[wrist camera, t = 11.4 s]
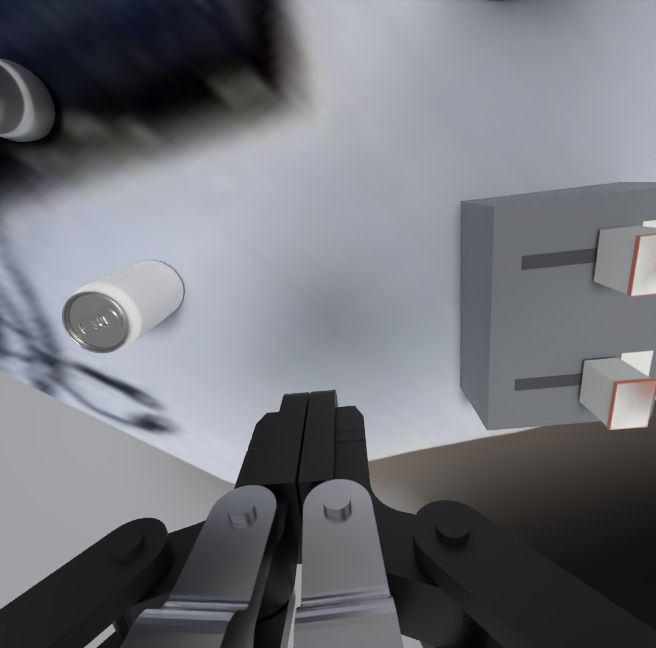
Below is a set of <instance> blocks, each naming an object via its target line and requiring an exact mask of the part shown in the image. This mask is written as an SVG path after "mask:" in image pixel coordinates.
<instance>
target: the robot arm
mask: <svg viewBox="0 0 656 648" xmlns="http://www.w3.org/2000/svg"><path fill="white" fill-rule="evenodd" d="M297 564H302V587H301V606H300V607H297V609H296V613H295V623H294V647H293V648H404V647H403V642H402V637H401V634H402V635H405V636H408V637H411V638H414V639H416V640H419V641H420V642H421V644H422V646H423V648H656V632H655V631H654V630H652V629H651V628H649V627H648V626H647V625H645V624H644V623H642V622H641V621H639V620H638V619H636V618H634V617H633V616H632V615H630V614H629V613H627V612H626V611H624V610H623V609H621V608H620V607H618V606H617V605H615V604H614V603H613V602H611V601H610V600H608V599H607V598H605V597H603V596H602V595H601V594H599V593H598V592H596V591H595V590H593V589H592V588H590V587H588V586H587V585H586V584H584V583H583V582H581V581H580V580H578V579H577V578H576V577H574V576H573V575H571V574H570V573H568V572H566V571H565V570H564V569H562V568H561V567H559V566H558V565H556V564H555V563H553V562H552V561H550V560H549V559H547V558H546V557H544V556H543V555H541V554H540V553H538V552H537V551H536V550H534V549H533V548H531V547H530V546H528V545H526V544H525V543H524V542H522V541H521V540H519V539H518V538H516V537H515V536H513V535H512V534H510V533H509V532H507V531H506V530H504V529H503V528H501V527H500V526H499V525H497V524H496V523H494V522H493V521H491V520H489V519H488V518H487V517H485V516H483V515H482V514H481V513H479V512H478V511H476V510H475V509H473V508H471V507H470V506H468V505H465V504H463V503H460V502H455V501H448V500H442V501H435V502H432V503H429V504H427V505H425V506H424V507H422V508H421V509H420V510H419V511H418V512H417V514H416V515H414V514H410V513H405V512H401V511H397V510H395V509H392V508H390V507H388V506H386V505H385V504H383V503H382V502H381V501H379V500H378V498H377V497H376V496H375V495H374V493H373V492H372V489H371V486H370V479H369V469H368V459H367V448H366V438H365V428H364V418H363V415H362V414H361V413H360V411H359V410H358V409H357V408H356V407H355V406H346V407H338V402H337V394H336V390H329V391H317V392H311V393H309V392H306V393H294V394H284V396H283V399H282V403H281V407H280V411H279V412H273V413H266V414H265V416H264V417H263V418H262V419H261V420H260V421H259V422H258V423H257V424H256V426H255V429H254V432H253V435H252V440H251V441H250V444H249V447H248V451H247V453H246V455H245V458H244V461H243V464H242V467H241V470H240V473H239V476H238V479H237V482H236V485H235V488H234V490H231V491H230V492H228V493H226V494H225V495H224V496H222V497H221V498H220V499H219V500H218V501H217V502H216V503H215V504H214V506H213V508H212V509H211V511H210V513H209V515H208V517H207V519H206V520H205V521H203V522H200V523H198V524H195V525H192V526H189V527H186V528H183V529H180V530H178V531H174V532H172V533H168V532H167V530H166V527H165V525H164V524H163V523H162V522H161V521H160V520H158V519H155V518H141V519H137V520H133V521H130V522H128V523H126V524H124V525H122V526H120V527H118V528H117V529H115V530H114V531H112V532H111V533H109V534H108V535H106V536H105V537H103V538H102V539H101V540H99V541H98V542H96V543H95V544H93V545H92V546H91V547H89V548H88V549H86V550H85V551H83V552H82V553H81V554H79V555H78V556H76V557H75V558H73V559H72V560H70V561H69V562H68V563H66V564H65V565H64V566H62V567H61V568H59V569H58V570H56V571H55V572H53V573H52V574H50V575H49V576H48V577H46V578H45V579H43V580H42V581H40V582H39V583H37V584H36V585H35V586H33V587H32V588H30V589H29V590H28V591H26V592H25V593H23V594H22V595H20V596H19V597H17V598H16V599H15V600H13V601H12V602H10V603H9V604H8V605H6V606H4V607H3V608H2V609H0V648H84V647H85V646H86V645H88V644H89V643H90V642H91V641H92V640H93V639H95V637H97V636H98V635H99V634H100V633H101V632H103V631H104V630H105V629H106V628H107V627H108V626H110V625H111V624H113V626H114V628H115V630H116V631H115V632H114V633H113V634H112V635H111V636H109V637H108V638H107V639H106V640H105V641H104V642H103V643H101V645H99V646H98V647H97V648H287V646H288V640H289V635H290V629H291V623H292V618H293V612H294V607H295V599H296V595H295V589H294V585H295V577H296V568H297Z"/></svg>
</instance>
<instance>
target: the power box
mask: <svg viewBox="0 0 656 648" xmlns="http://www.w3.org/2000/svg"><path fill="white" fill-rule="evenodd" d="M637 225H639V226H646V227H653V228H656V182H620V183H611V184H603V185H595V186H586V187H578V188H569V189H561V190H553V191H544V192H536V193H528V194H519V195H511V196H502V197H494V198H486V199H477V200H469V201H461V388H462V390H463V391H464V393H465V394H466V396H467V398H468V399H469V401H470V403H471V404H472V406H473V408H474V409H475V411H476V413H477V414H478V416H479V418H480V419H481V421H482V423H483V424H484V426H485V427H486V429H487V430H499V429H511V428H523V427H535V426H547V425H558V424H571V423H583V422H594V421H601V420H599V419H598V418H597V417H596V416H595V415H594V414H593V413H592V412H591V411H590V410H588V409H587V408H586V407H585V406H584V405H583V404H582V403H581V402H580V401H579V400H580V392H581V384H582V376H583V368H584V361H585V360H596V359H607V358H620V359H621V360H623V361H624V362H626V363H628V364H629V365H631V366H632V367H634V368H636V369H637V370H639V371H640V372H642V373H644V374H645V375H647V376H649V377H650V378H653V379H655V380H656V294H651V295H641V296H632V297H630V296H628V295H627V294H625V293H623V292H620V291H617V290H615V289H612V288H610V287H607V286H604V285H602V284H599V283H597V282H594V276H595V268H596V260H597V252H598V244H599V236H600V230H601V229H610V228H619V227H628V226H637ZM655 396H656V386H655V391H654V396H653V401H652V406H651V411H650V416H649V417H651V416H652V411H653V406H654V401H655Z"/></svg>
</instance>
